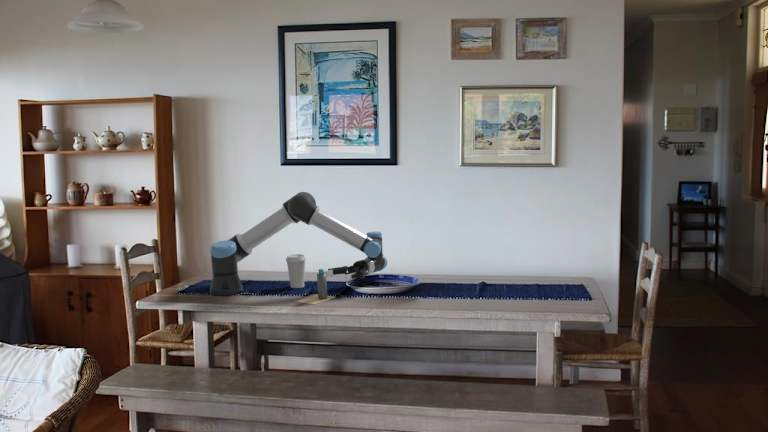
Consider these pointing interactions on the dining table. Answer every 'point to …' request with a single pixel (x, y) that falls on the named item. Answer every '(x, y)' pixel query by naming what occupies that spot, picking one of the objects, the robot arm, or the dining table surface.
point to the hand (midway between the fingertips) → (334, 276)
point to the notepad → (312, 299)
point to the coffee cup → (296, 270)
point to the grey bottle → (322, 285)
